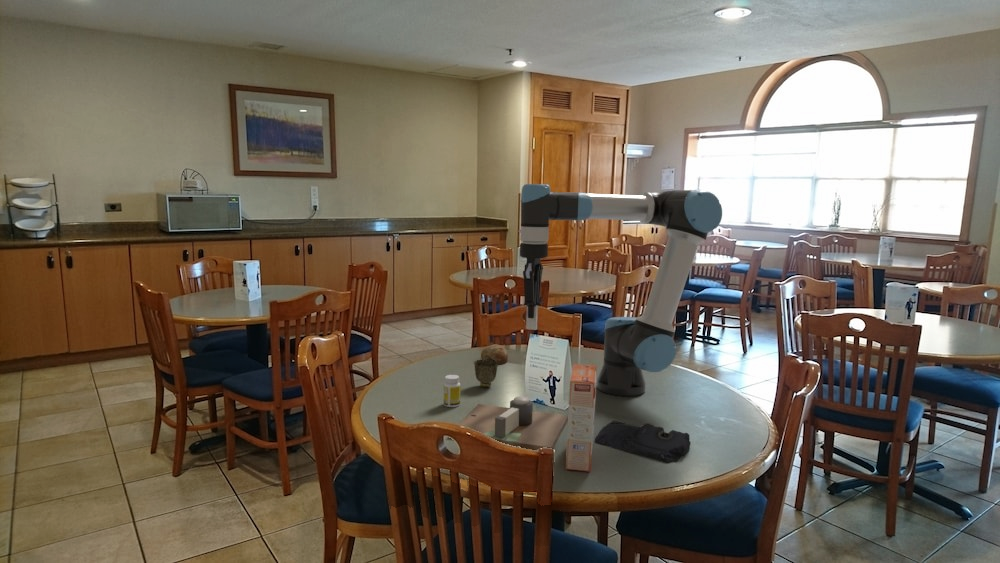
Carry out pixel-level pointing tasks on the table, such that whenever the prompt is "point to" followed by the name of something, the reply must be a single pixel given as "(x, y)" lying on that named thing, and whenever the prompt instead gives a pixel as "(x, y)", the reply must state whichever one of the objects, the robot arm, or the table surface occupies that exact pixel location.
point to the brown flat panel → (529, 436)
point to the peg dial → (514, 416)
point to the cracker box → (581, 417)
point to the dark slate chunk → (645, 441)
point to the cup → (485, 372)
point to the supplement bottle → (451, 391)
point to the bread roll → (495, 354)
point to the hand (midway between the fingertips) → (531, 328)
